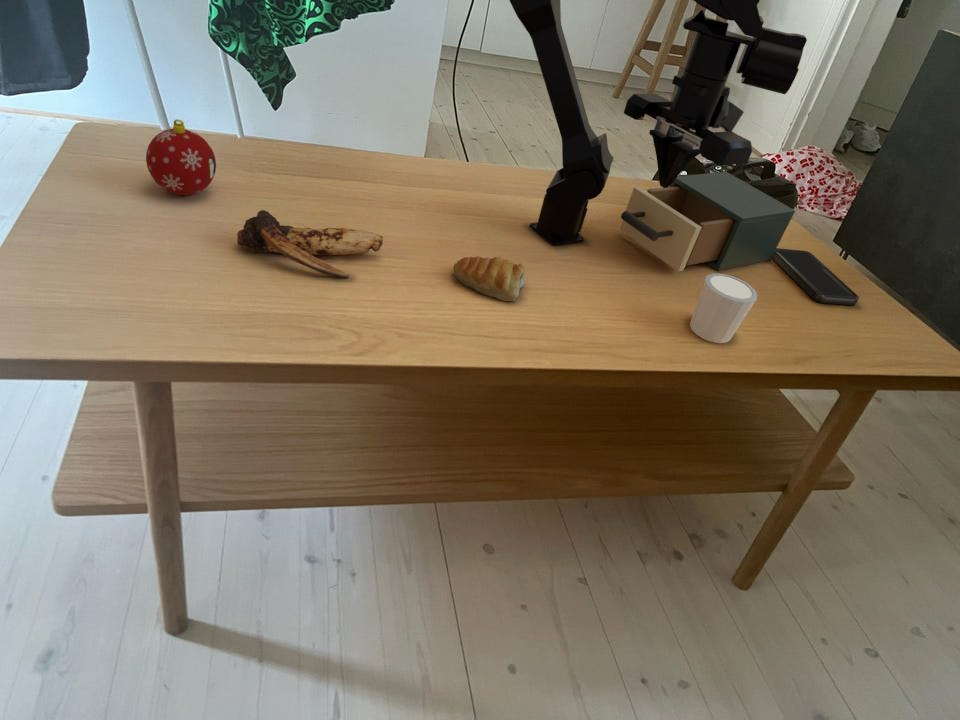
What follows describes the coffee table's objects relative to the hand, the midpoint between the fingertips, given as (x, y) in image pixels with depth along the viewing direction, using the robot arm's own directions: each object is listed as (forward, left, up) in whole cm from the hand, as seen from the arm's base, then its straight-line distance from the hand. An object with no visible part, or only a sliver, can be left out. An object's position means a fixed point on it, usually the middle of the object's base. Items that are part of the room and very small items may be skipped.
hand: (664, 186), depth 97 cm
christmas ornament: (-58, +33, -12) cm, 67 cm away
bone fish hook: (-48, +12, -12) cm, 50 cm away
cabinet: (+18, +1, -12) cm, 22 cm away
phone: (+27, -13, -12) cm, 33 cm away
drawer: (+6, +1, -11) cm, 13 cm away
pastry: (-28, 0, -12) cm, 30 cm away
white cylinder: (-4, -18, -12) cm, 22 cm away
